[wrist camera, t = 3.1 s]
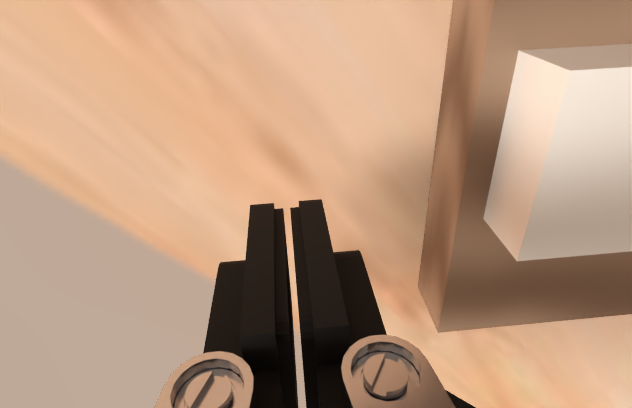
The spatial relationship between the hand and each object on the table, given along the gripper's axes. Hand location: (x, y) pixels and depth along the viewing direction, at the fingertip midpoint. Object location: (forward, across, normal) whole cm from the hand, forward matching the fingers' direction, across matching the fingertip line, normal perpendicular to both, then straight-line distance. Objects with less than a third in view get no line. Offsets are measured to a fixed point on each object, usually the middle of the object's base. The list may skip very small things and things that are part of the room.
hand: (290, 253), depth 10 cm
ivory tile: (+4, -12, -1) cm, 12 cm away
